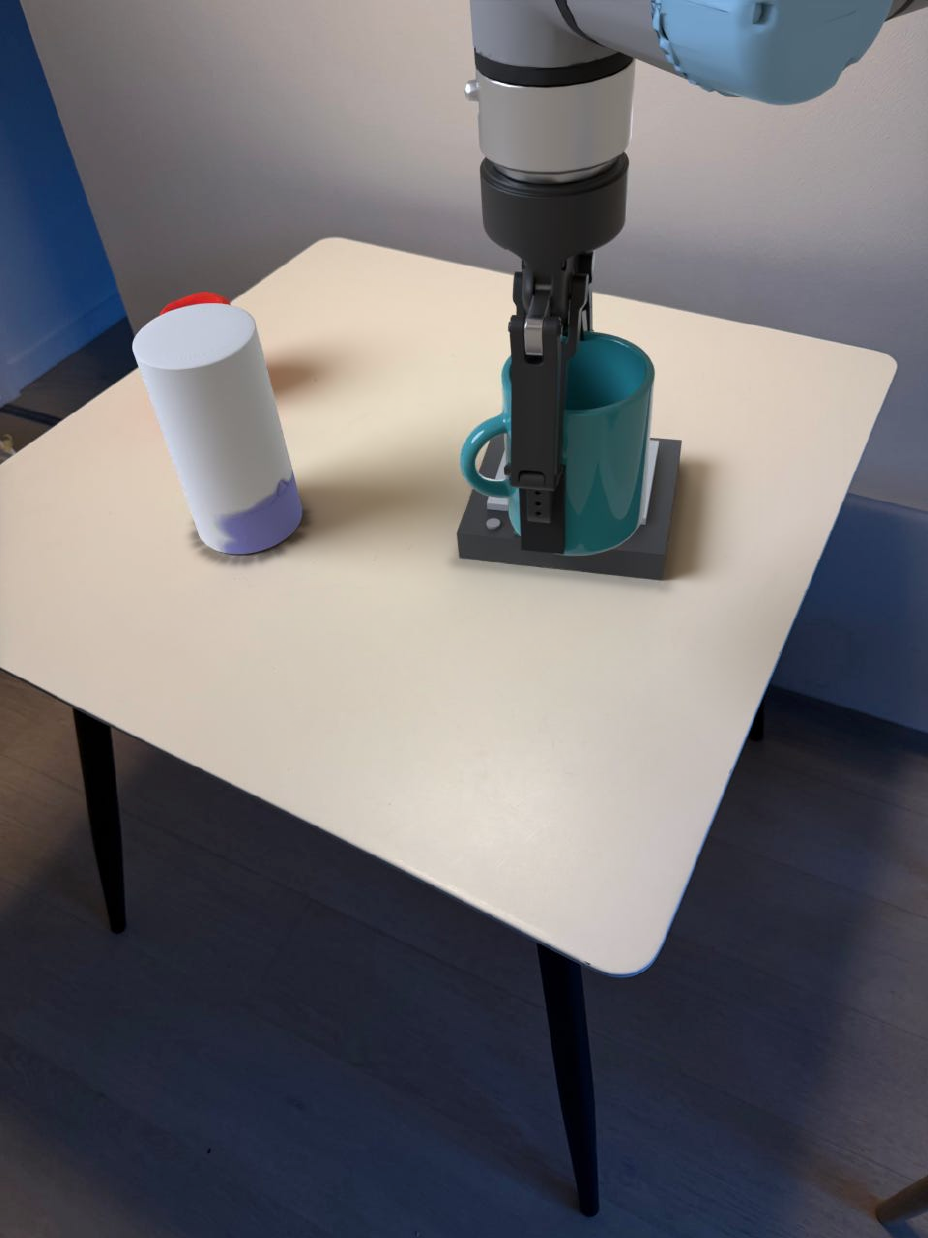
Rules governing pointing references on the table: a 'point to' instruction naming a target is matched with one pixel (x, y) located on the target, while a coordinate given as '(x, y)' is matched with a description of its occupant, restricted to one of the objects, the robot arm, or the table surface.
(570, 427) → the cup
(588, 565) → the scale
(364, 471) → the table surface
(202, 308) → the container
